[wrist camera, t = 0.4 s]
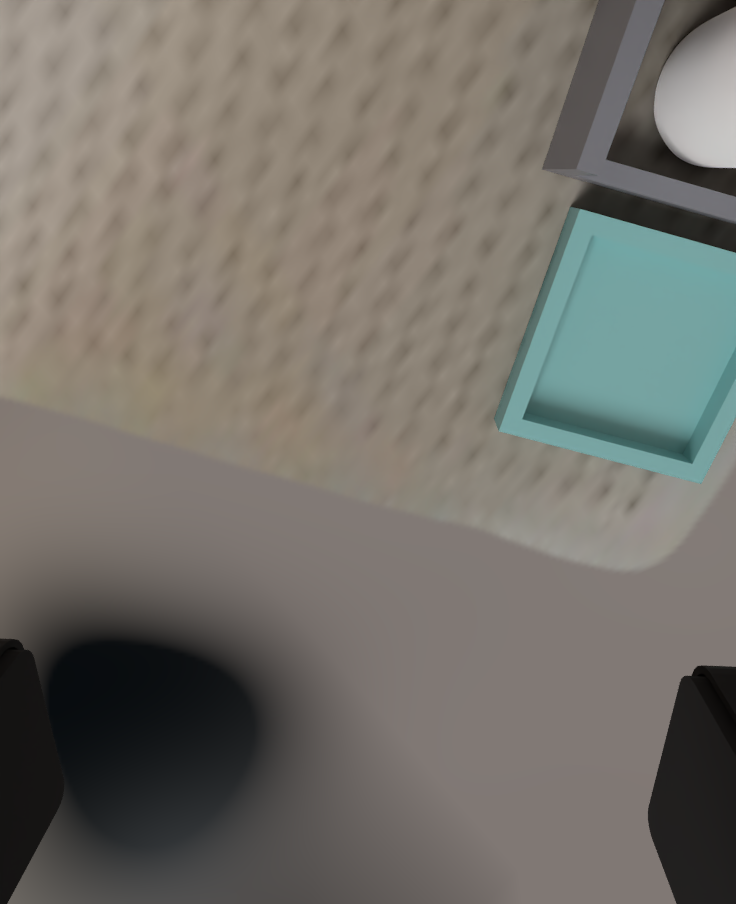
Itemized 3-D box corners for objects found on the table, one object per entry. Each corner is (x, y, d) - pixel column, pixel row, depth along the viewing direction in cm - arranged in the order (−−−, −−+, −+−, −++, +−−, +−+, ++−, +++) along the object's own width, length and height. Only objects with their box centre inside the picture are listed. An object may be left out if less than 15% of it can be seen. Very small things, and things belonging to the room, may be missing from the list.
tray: (570, 206, 33) (580, 208, 32) (788, 268, 34) (810, 273, 32) (494, 418, 38) (498, 431, 36) (686, 468, 39) (701, 483, 37)
